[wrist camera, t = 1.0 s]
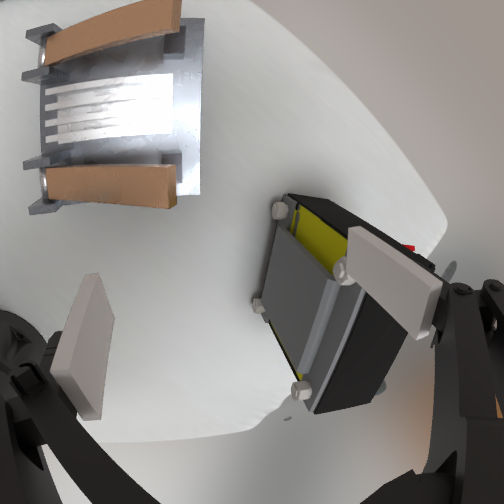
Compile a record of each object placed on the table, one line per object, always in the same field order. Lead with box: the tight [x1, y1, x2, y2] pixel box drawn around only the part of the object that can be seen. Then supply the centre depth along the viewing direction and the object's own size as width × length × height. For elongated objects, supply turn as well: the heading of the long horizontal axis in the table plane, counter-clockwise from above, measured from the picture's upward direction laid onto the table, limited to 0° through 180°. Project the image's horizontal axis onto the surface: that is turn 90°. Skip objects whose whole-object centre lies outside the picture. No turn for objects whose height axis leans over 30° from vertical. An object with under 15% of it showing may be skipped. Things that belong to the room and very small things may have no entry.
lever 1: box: [45, 0, 182, 66], centre depth 18 cm, size 14×3×1 cm, turn 88°
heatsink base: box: [22, 18, 205, 215], centre depth 26 cm, size 18×20×9 cm
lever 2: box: [46, 164, 177, 209], centre depth 23 cm, size 14×3×1 cm, turn 88°
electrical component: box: [252, 193, 435, 414], centre depth 35 cm, size 18×10×20 cm, turn 169°
